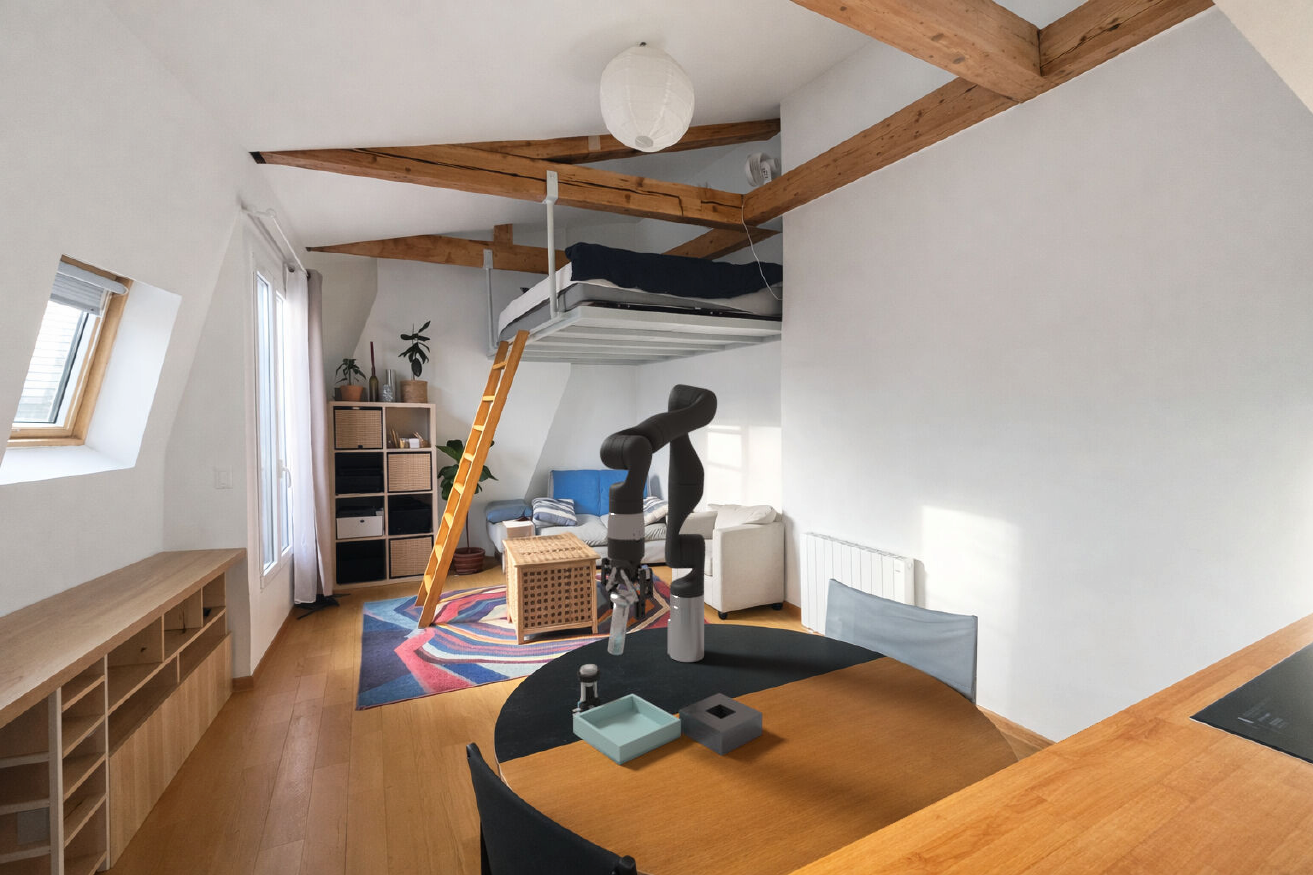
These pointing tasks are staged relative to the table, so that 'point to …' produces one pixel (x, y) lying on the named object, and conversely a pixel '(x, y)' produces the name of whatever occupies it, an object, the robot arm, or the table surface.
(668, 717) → the tray
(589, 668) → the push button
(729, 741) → the hitch block
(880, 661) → the table surface
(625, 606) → the steel pin
